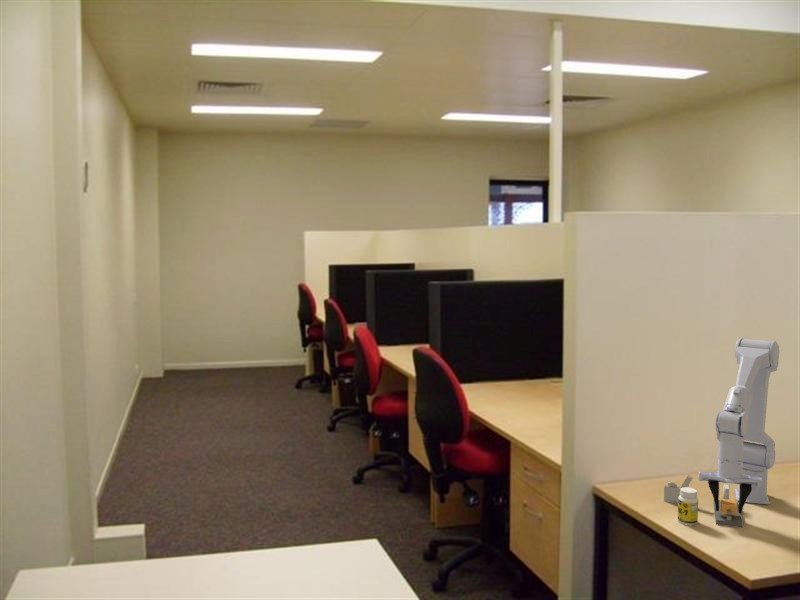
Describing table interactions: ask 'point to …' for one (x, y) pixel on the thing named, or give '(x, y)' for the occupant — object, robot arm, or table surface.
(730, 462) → the robot arm
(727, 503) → the orange cube with peg
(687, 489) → the supplement bottle
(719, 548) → the table surface
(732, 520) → the linear slider rail
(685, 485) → the lighter
